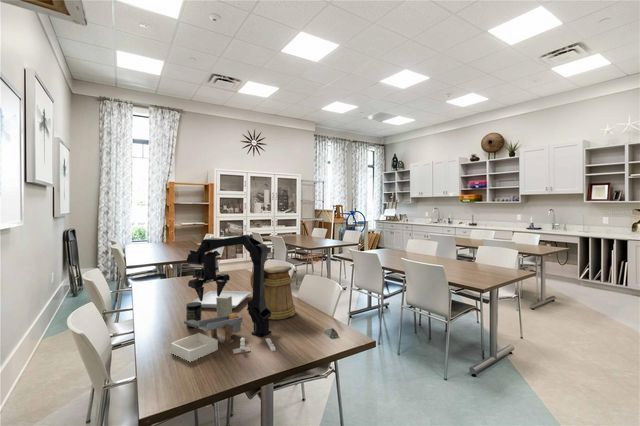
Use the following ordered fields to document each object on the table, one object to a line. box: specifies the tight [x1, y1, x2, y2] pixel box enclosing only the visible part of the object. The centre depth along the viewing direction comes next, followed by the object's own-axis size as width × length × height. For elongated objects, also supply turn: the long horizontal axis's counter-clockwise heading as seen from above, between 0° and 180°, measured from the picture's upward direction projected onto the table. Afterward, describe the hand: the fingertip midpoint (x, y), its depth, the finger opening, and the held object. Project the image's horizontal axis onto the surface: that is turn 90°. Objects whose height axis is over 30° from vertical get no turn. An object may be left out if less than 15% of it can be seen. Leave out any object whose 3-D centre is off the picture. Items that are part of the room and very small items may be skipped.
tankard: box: [250, 265, 297, 321], centre depth 165 cm, size 18×24×25 cm
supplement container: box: [185, 301, 203, 329], centre depth 148 cm, size 7×7×10 cm
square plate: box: [192, 290, 253, 309], centre depth 184 cm, size 27×27×4 cm
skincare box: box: [216, 296, 233, 317], centre depth 154 cm, size 6×4×12 cm
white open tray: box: [170, 332, 219, 363], centre depth 123 cm, size 12×12×4 cm
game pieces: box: [231, 327, 339, 356], centre depth 133 cm, size 45×13×6 cm, turn 112°
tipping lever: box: [183, 315, 244, 333], centre depth 135 cm, size 18×16×6 cm
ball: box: [229, 312, 238, 319], centre depth 139 cm, size 4×4×4 cm
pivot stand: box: [208, 324, 234, 346], centre depth 133 cm, size 4×11×8 cm, turn 56°
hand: (209, 298), depth 147 cm, fingers open, 9 cm apart
